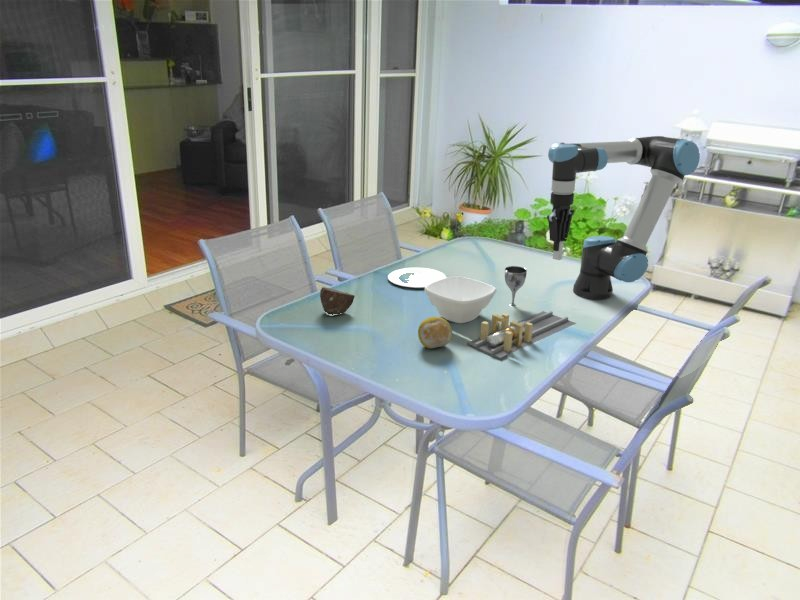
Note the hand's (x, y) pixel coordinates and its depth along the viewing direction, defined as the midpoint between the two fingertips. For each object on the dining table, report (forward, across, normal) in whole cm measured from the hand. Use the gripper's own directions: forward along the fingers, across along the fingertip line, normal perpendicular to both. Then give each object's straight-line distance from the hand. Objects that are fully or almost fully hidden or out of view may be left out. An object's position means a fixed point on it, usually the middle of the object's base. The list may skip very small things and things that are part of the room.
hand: (557, 258), depth 210 cm
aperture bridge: (+21, +30, +2) cm, 37 cm away
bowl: (+21, +26, -22) cm, 40 cm away
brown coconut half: (+20, +58, -55) cm, 82 cm away
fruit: (+21, +50, -11) cm, 55 cm away
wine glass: (+22, +4, -15) cm, 27 cm away
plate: (+22, +10, -61) cm, 65 cm away
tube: (+20, +29, +2) cm, 36 cm away
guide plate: (+21, +21, +2) cm, 30 cm away
